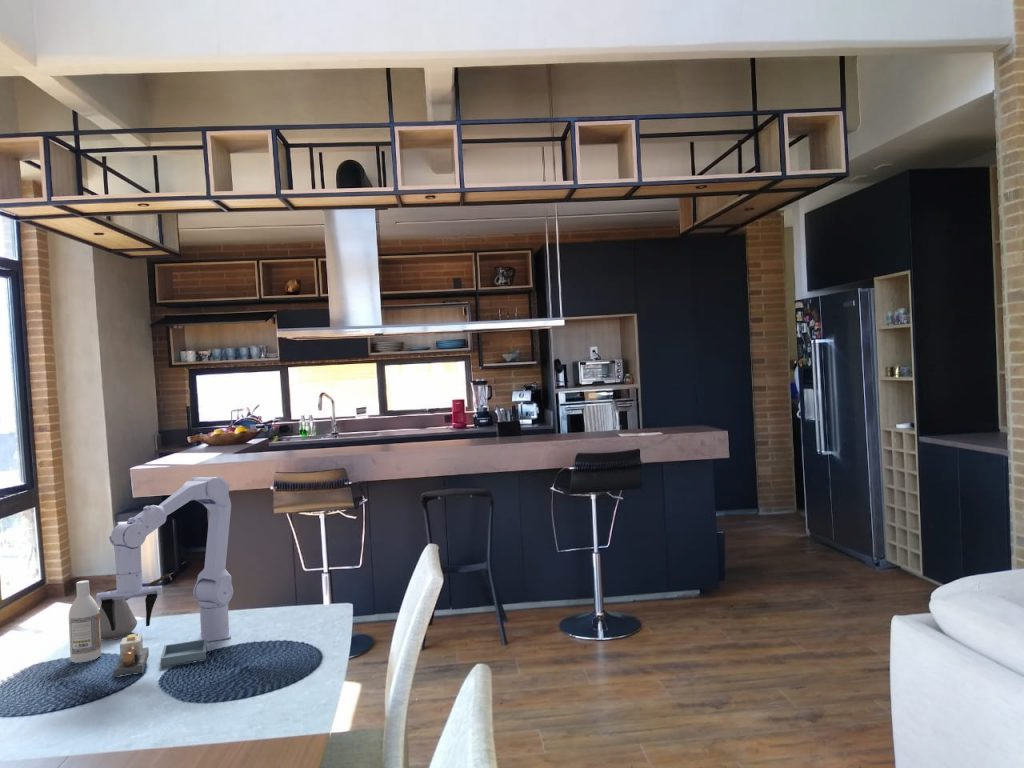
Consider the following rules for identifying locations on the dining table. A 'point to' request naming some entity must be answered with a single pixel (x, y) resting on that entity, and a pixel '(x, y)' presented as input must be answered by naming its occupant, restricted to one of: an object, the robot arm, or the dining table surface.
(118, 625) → the coffee pot
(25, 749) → the dining table surface
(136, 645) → the white yellow block
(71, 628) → the bath foam
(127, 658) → the hand plane
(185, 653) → the tray
